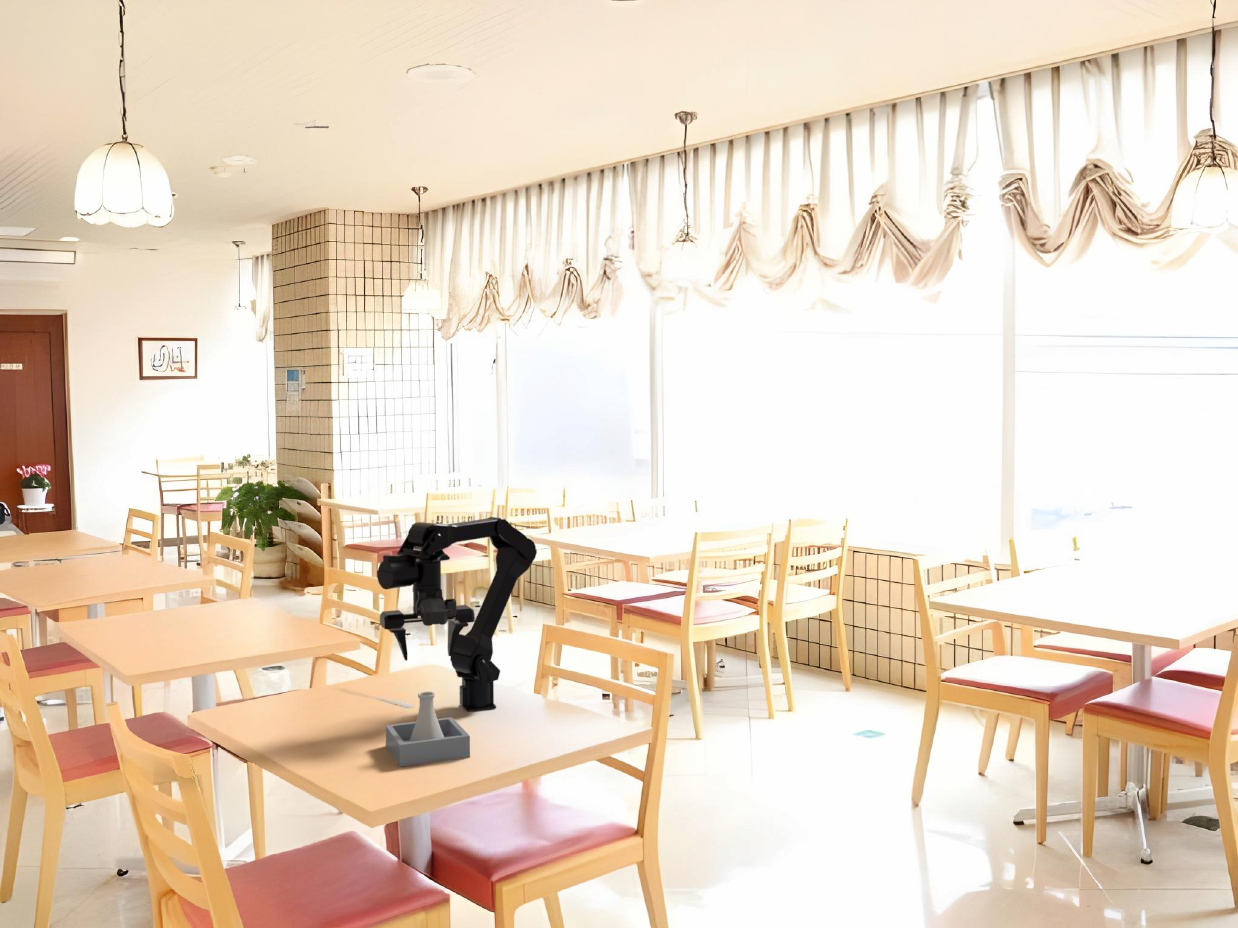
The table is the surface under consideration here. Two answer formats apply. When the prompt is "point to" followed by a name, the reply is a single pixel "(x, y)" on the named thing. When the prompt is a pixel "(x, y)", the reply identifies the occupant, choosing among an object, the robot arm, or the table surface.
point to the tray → (427, 743)
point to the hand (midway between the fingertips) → (427, 657)
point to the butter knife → (397, 703)
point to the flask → (426, 720)
